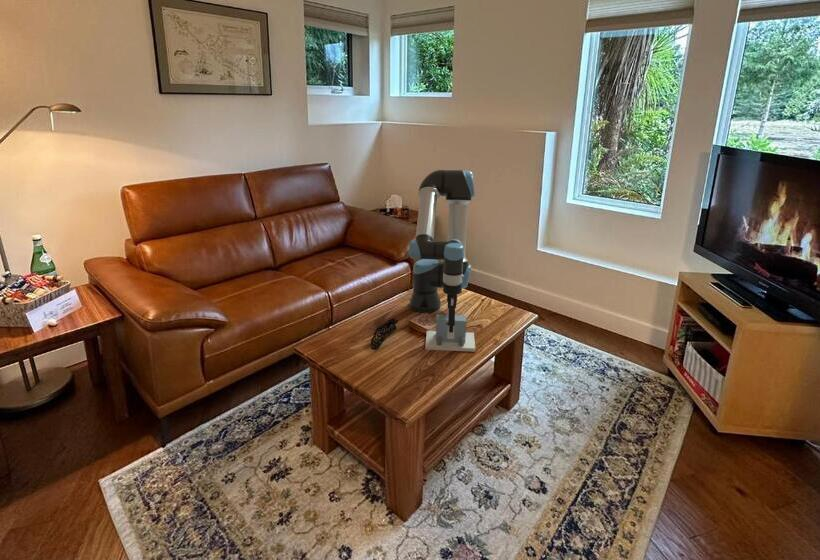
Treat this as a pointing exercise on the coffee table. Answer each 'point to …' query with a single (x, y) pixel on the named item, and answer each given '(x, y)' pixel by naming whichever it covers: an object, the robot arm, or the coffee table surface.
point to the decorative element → (383, 333)
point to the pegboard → (450, 343)
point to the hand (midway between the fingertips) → (450, 330)
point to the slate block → (443, 328)
